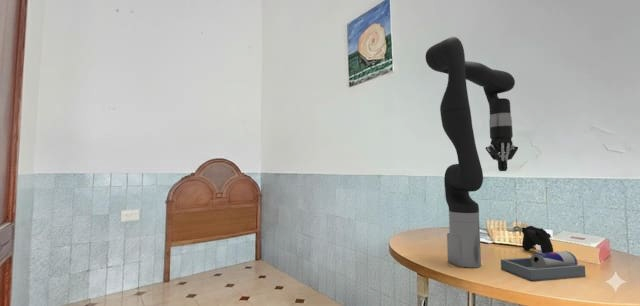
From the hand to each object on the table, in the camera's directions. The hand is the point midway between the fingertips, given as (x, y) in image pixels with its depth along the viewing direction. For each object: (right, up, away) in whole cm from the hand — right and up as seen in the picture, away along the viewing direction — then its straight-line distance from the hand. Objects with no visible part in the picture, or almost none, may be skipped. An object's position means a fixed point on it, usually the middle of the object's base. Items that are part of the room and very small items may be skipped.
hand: (502, 171), depth 118 cm
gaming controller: (+11, -31, -4) cm, 33 cm away
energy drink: (+7, -26, -23) cm, 35 cm away
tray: (-3, -29, -25) cm, 39 cm away
